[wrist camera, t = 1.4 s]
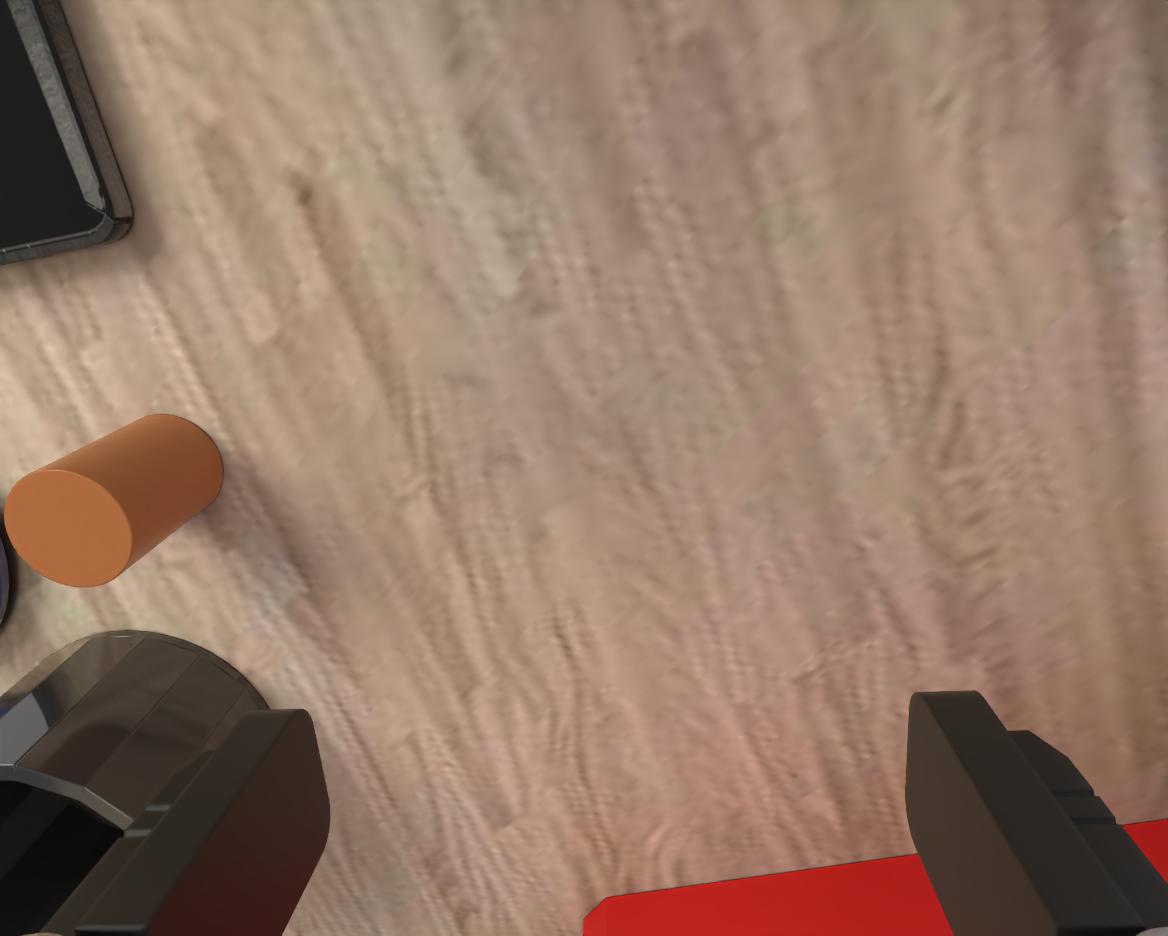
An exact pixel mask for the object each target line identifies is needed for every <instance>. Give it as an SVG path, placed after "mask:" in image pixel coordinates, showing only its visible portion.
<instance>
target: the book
mask: <svg viewBox="0 0 1168 936" xmlns="http://www.w3.org/2000/svg"><path fill="white" fill-rule="evenodd" d="M1123 828H1124V829H1125V830H1126V832H1127V833H1128V834H1129V835H1130V837H1131V838H1132V839H1133V840H1134V842H1135V843H1136V844H1137V845H1138V847H1139V848H1140V849H1141V851H1142V852H1143V853H1144V854H1145V856H1146V857H1147V858H1148V859H1149V861H1150V862H1151V863H1152V864H1153V866H1154V867H1155V868H1156V870H1157V871H1158V872H1159V873H1160V875H1161V876H1162V877H1163V878H1164V880H1165V881H1166V882H1167V883H1168V819H1167V820H1160V821H1153V822H1145V823H1138V824H1131V825H1124V826H1123ZM583 936H954V934H953V932H952V930H951V928H950V925H949V923H948V921H947V918H946V916H945V914H944V912H943V909H942V907H941V905H940V902H939V900H938V898H937V896H936V893H935V891H934V889H933V886H932V884H931V882H930V879H929V877H928V875H927V873H926V870H925V868H924V866H923V863H922V861H921V859H920V857H919V854H916V855H909V856H902V857H895V858H888V859H881V860H873V861H866V862H859V863H852V864H845V865H838V866H831V867H823V868H816V869H809V870H802V871H795V872H788V873H780V874H773V875H766V876H759V877H752V878H745V879H737V880H730V881H723V882H716V883H709V884H702V885H695V886H687V887H680V888H673V889H666V890H659V891H652V892H644V893H637V894H630V895H623V896H616V897H609V898H606V899H605V900H604V901H603V902H601V903H600V904H599V905H598V906H597V907H596V908H595V909H594V910H593V911H592V912H591V913H590V914H589V915H588V916H587V917H586V918H585V919H584V926H583Z"/></svg>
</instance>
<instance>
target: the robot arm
mask: <svg viewBox="0 0 1168 936" xmlns="http://www.w3.org/2000/svg"><path fill="white" fill-rule="evenodd" d="M905 802H906V811H907V818H908V823H909V828H910V832H911V836H912V839H913V842H914V845H915V847H916V850H917V852H918V854H919V857H920V859H921V861H922V863H923V866H924V868H925V870H926V873H927V875H928V877H929V879H930V882H931V884H932V886H933V889H934V891H935V893H936V896H937V898H938V900H939V902H940V905H941V907H942V909H943V912H944V914H945V916H946V918H947V921H948V923H949V925H950V928H951V930H952V932H953V934H954V936H1168V883H1167V882H1166V881H1165V880H1164V878H1163V877H1162V876H1161V875H1160V873H1159V872H1158V871H1157V870H1156V868H1155V867H1154V866H1153V864H1152V863H1151V862H1150V861H1149V859H1148V858H1147V857H1146V856H1145V854H1144V853H1143V852H1142V851H1141V849H1140V848H1139V847H1138V845H1137V844H1136V843H1135V842H1134V840H1133V839H1132V838H1131V837H1130V835H1129V834H1128V833H1127V832H1126V830H1125V829H1124V828H1123V826H1122V825H1117V823H1116V820H1115V816H1114V815H1113V814H1112V813H1111V811H1110V810H1109V809H1108V807H1107V806H1106V805H1105V804H1104V802H1103V801H1102V800H1101V799H1100V797H1099V796H1095V795H1094V791H1093V789H1092V787H1091V786H1090V785H1089V783H1088V782H1087V781H1086V780H1085V778H1084V777H1083V776H1082V775H1081V773H1080V772H1079V771H1078V770H1077V768H1076V767H1075V766H1074V764H1073V763H1072V762H1071V761H1070V759H1069V758H1068V757H1067V756H1065V755H1064V754H1062V753H1061V752H1059V751H1058V750H1056V749H1055V748H1054V747H1052V746H1051V745H1049V744H1048V743H1046V742H1045V741H1043V740H1042V739H1040V738H1039V737H1037V736H1036V735H1035V734H1033V733H1032V732H1030V731H1029V730H1025V731H1007V730H1006V728H1005V727H1004V725H1003V724H1002V723H1001V721H1000V720H999V718H998V717H997V716H996V714H995V713H994V711H993V710H992V709H991V707H990V706H989V704H988V703H987V702H986V700H985V699H984V697H983V696H982V695H981V694H980V693H979V692H977V691H975V690H974V691H941V692H915V693H914V694H913V695H912V697H911V700H910V706H909V723H908V744H907V765H906V785H905ZM329 827H330V802H329V797H328V792H327V787H326V782H325V778H324V773H323V768H322V763H321V758H320V754H319V749H318V744H317V739H316V734H315V730H314V725H313V721H312V719H311V716H310V715H309V713H308V712H307V711H306V710H304V709H287V710H254V711H248V712H246V713H245V714H244V715H243V716H242V717H241V718H240V719H239V720H238V722H237V723H236V724H235V725H234V727H233V728H232V729H231V731H230V732H229V733H228V734H227V736H226V737H225V738H224V739H223V741H222V742H221V743H220V744H219V746H218V747H217V748H216V749H215V750H206V751H204V752H203V753H201V754H200V755H199V756H197V757H196V758H194V759H193V760H192V761H190V762H189V763H187V764H186V765H185V766H183V767H182V768H181V769H179V770H178V771H176V772H175V773H174V774H172V775H171V776H170V777H169V778H168V779H167V780H166V782H165V783H164V784H163V785H162V786H161V788H160V789H159V790H158V791H157V792H156V794H155V795H154V796H153V797H152V798H151V800H150V801H149V802H148V803H147V804H146V806H145V811H144V812H140V813H139V814H138V815H137V816H136V818H135V819H134V820H133V821H132V822H131V823H130V825H129V826H128V827H127V828H126V829H125V831H124V836H123V838H118V839H117V840H116V841H115V843H114V844H113V845H112V846H111V847H110V849H109V850H108V851H107V852H106V853H105V855H104V856H103V857H102V858H101V859H100V861H99V862H98V863H97V864H96V865H95V866H94V868H93V869H92V870H91V871H90V872H89V874H88V875H87V876H86V877H85V878H84V880H83V881H82V882H81V883H80V884H79V886H78V887H77V888H76V889H75V890H74V892H73V893H72V894H71V895H70V896H69V898H68V899H67V900H66V901H65V902H64V904H63V905H62V906H61V907H60V908H59V909H58V911H57V912H56V913H55V914H54V915H53V917H52V918H51V919H50V920H49V921H48V923H47V924H46V925H45V926H44V927H43V929H42V930H41V931H40V932H39V933H34V934H28V935H23V936H282V934H283V932H284V930H285V928H286V926H287V924H288V922H289V920H290V918H291V916H292V914H293V912H294V910H295V908H296V906H297V904H298V902H299V900H300V898H301V896H302V894H303V892H304V890H305V888H306V886H307V884H308V882H309V880H310V878H311V876H312V874H313V872H314V869H315V867H316V865H317V863H318V861H319V859H320V857H321V855H322V853H323V851H324V848H325V845H326V842H327V838H328V833H329Z"/></svg>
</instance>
